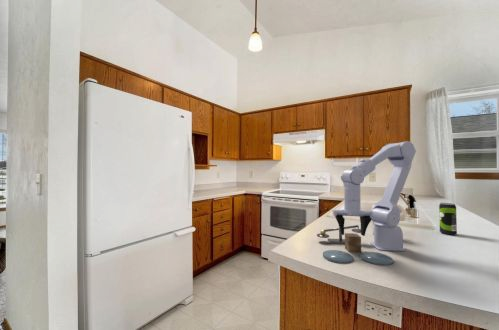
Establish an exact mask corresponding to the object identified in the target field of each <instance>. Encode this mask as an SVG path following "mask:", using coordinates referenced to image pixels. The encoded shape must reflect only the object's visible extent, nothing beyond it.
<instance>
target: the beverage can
mask: <svg viewBox="0 0 499 330" xmlns="http://www.w3.org/2000/svg"><path fill="white" fill-rule="evenodd" d="M438 209H439V212H438V214H439V216H438V218H439V232H440V233H441V234H443V235H446V236H456V235H457V234H458V231H457V230H458V228H457V225H458V224H457V223H458V222H457V205H456V203H452V202H440V203H439V205H438Z"/></svg>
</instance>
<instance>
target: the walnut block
mask: <svg viewBox="0 0 499 330" xmlns="http://www.w3.org/2000/svg"><path fill="white" fill-rule="evenodd" d="M344 239H345V244H344V249H345V250H346V251H347V253H356V254H357V253H359V254H360V253H362V236H361V235H359V233H354V232H353V233H351V232H350V233H348V232H344Z"/></svg>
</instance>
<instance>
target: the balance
mask: <svg viewBox="0 0 499 330" xmlns="http://www.w3.org/2000/svg"><path fill="white" fill-rule="evenodd" d="M348 229H351V232H353V233H355V234H361V228H359V224H357V225H348V226H344V230H348ZM333 231H338V238H330V235H329V234H327V232H333ZM316 236H317V237H318V238H322V239H327V242H328V243H329V244H338V245H345V238H343V235H342V234H341V232H340V228H339V227H335V228H327V229H321V230H320V231H319V233H317V234H316Z"/></svg>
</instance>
